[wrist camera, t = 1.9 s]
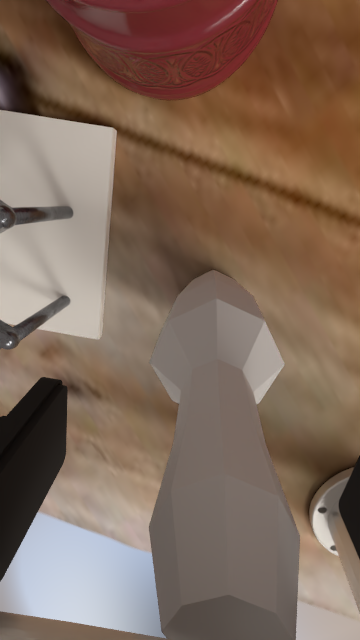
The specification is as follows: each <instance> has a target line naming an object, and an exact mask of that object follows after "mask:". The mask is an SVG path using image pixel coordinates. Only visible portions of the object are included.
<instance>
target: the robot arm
mask: <svg viewBox="0 0 360 640" xmlns="http://www.w3.org/2000/svg"><path fill="white" fill-rule="evenodd" d="M66 428H67V386H64V385H62V381H61V380H58V379H52V378H46V377H42V378H40V379H39V380H38V381H37V383H36V384H35V385H34V386H33V387H32V388H31V389H30V390H29V392H28V393H27V394H26V395H25V396H24V397H23V398H22V399H21V400H20V402H19V403H18V404H17V405H16V406H15V407H14V408H13V409H12V410H11V412H10V413H9V414H8V415H7V416H2V417H0V581H1V580H2V578H3V576H4V575H5V573H6V571H7V569H8V567H9V565H10V563H11V561H12V560H13V558H14V556H15V554H16V552H17V550H18V548H19V546H20V544H21V542H22V541H23V539H24V537H25V535H26V533H27V531H28V529H29V527H30V525H31V523H32V522H33V520H34V518H35V516H36V514H37V512H38V510H39V508H40V506H41V505H42V503H43V501H44V499H45V497H46V495H47V493H48V491H49V489H50V487H51V486H52V484H53V482H54V480H55V478H56V476H57V474H58V472H59V470H60V468H61V467H62V465H63V462H64V459H65V455H66ZM309 518H310V523H311V526H312V529H313V532H314V534H315V536H316V538H317V540H318V541H319V542H320V543H321V544H322V546H323V547H325V548H326V549H327V550H328V551H330V552H331V553H333V554H335V555H337V556H339V558H340V560H341V563H342V566H343V569H344V571H345V574H346V577H347V580H348V582H349V585H350V588H351V590H352V593H353V596H354V599H355V601H356V604H357V607H358V610H359V612H360V456H359V458H358V461H357V463H356V465H355V467H352V468H350V469H347V470H345V471H342V472H340V473H338V474H337V475H335V476H333V477H332V478H330V479H329V480H328V481H327V482H325V483H324V484H323V485H322V486H321V487H320V488H319V490H318V491H317V492H316V493H315V495H314V497H313V499H312V501H311V504H310V509H309ZM0 640H171V639H165V638H160V637H154V636H148V635H142V634H136V633H131V632H125V631H119V630H113V629H107V628H102V627H96V626H89V625H84V624H78V623H72V622H66V621H60V620H53V619H46V618H40V617H33V616H27V615H20V614H13V613H7V612H0Z"/></svg>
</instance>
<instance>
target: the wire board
mask: <svg viewBox="0 0 360 640" xmlns="http://www.w3.org/2000/svg"><path fill="white" fill-rule="evenodd" d="M116 137H117V130H115V129H114V128H111V127H105V126H99V125H92V124H86V123H80V122H73V121H67V120H61V119H55V118H48V117H42V116H36V115H29V114H23V113H17V112H11V111H4V110H0V200H1V201H3V202H4V203H6V204H7V205H9V206H10V207H12V208H16V207H51V206H69V207H71V208H72V210H73V216H72V218H70V219H62V220H53V221H45V222H37V223H28V224H20V225H15V226H13V227H12V228H10V229H7V230H6V231H4V232H2V233H0V320H2V321H3V322H5V323H7V324H12V325H17V324H19V323H21V322H22V321H24V320H25V319H27V318H28V317H30V316H32V315H33V314H35V313H36V312H38V311H39V310H41V309H42V308H44V307H46V306H47V305H49V304H50V303H52V302H53V301H55V300H57V299H58V298H60V297H61V296H64V295H65V296H68V297H69V298H70V304H69V305H68V306H67V307H65V308H64V309H63V310H61V311H60V312H59V313H57V314H56V315H54V316H53V317H52V318H50V319H49V320H48V321H46V322H45V323H44V324H42V325H41V326H39V327H38V328H37V329H41V330H46V331H52V332H58V333H63V334H69V335H75V336H80V337H86V338H92V339H97V340H99V338H100V337H101V336H102V330H103V316H104V302H105V288H106V274H107V261H108V247H109V233H110V219H111V206H112V192H113V178H114V164H115V150H116Z"/></svg>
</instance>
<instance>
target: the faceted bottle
mask: <svg viewBox="0 0 360 640" xmlns="http://www.w3.org/2000/svg"><path fill="white" fill-rule="evenodd" d="M149 363H150V364H151V366H152V368H153V369H154V371H155V373H156V374H157V376H158V378H159V379H160V381H161V383H162V384H163V386H164V388H165V389H166V391H167V393H168V394H169V396H170V398H171V399H172V401H174V402H176V403H178V404H179V408H178V414H177V421H176V428H175V435H174V441H173V445H172V449H171V452H170V456H169V459H168V463H167V466H166V470H165V473H164V476H163V480H162V483H161V487H160V490H159V494H158V497H157V501H156V504H155V508H154V511H153V515H152V518H151V521H150V525H149V532H150V540H151V548H152V556H153V564H154V573H155V581H156V589H157V597H158V605H159V614H160V622H161V630H162V633H163V634H164V635H165V636H166V638H167V639H171V640H296V617H297V594H298V570H299V546H300V535H299V532H298V530H297V527H296V524H295V522H294V519H293V516H292V514H291V511H290V508H289V506H288V503H287V500H286V498H285V495H284V492H283V490H282V487H281V484H280V481H279V479H278V476H277V473H276V471H275V468H274V465H273V463H272V460H271V457H270V455H269V452H268V449H267V447H266V443H265V439H264V434H263V430H262V426H261V422H260V417H259V413H258V409H257V405H256V404H258V403H260V401H261V400H262V398H263V397H264V395H265V394H266V392H267V390H268V389H269V387H270V386H271V384H272V383H273V381H274V380H275V378H276V377H277V375H278V374H279V372H280V371H281V369H282V368H283V366H284V365H285V364H284V361H283V359H282V357H281V355H280V353H279V351H278V348H277V346H276V344H275V342H274V340H273V338H272V335H271V333H270V331H269V329H268V327H267V324H266V322H265V320H264V318H263V316H262V314H261V312H260V310H259V307H258V305H257V303H256V301H255V299H254V297H253V296H252V295H251V294H250V293H249V292H248V291H247V290H246V289H244V288H243V287H242V286H241V285H240V284H239V283H238V282H237V281H235V280H234V279H232V278H230V277H228V276H226V275H224V274H222V273H220V272H218V271H216V270H211V271H209V272H207V273H205V274H203V275H201V276H199V277H197V278H195V279H193V280H192V281H191V282H190V283H189V284H188V285H187V286H186V287H185V288H184V290H183V291H182V292H181V293H180V294H179V295H178V296H177V298H176V300H175V302H174V304H173V306H172V308H171V311H170V313H169V315H168V317H167V319H166V321H165V323H164V325H163V328H162V330H161V332H160V335H159V337H158V340H157V343H156V345H155V348H154V351H153V354H152V356H151V359H150V362H149Z"/></svg>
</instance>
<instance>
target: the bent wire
mask: <svg viewBox="0 0 360 640" xmlns="http://www.w3.org/2000/svg"><path fill="white" fill-rule="evenodd" d="M72 216H73V210H72V208H71V207H69V206H51V207H16V208H12V207H10V206H9V205H7V204H6V203H4V202H3V201H1V200H0V233H2V232H4V231H6V230H7V229H10V228H12V227H13V226H15V225H20V224H28V223H37V222H45V221H53V220H62V219H70V218H72ZM69 304H70V298H69V297H68V296H65V295H64V296H61V297H60V298H58V299H57V300H55V301H53V302H52V303H50V304H49V305H47V306H46V307H44V308H42V309H41V310H39V311H38V312H36V313H35V314H33V315H32V316H30V317H28V318H27V319H25V320H24V321H22V322H21V323H19V324H17V325H16V326H14V327H11V326H10V325H8V324H7V323H5V322H3V321H2V320H0V349H1V348H3V349H7V350H9V349H13V348H15V347H16V346H17V345H18V344H19V342H20V340H22V339H23V338H24V337H26V336H27V335H29V334H30V333H31V332H33V331H34V330H35V329H37V328H38V327H39V326H41V325H42V324H44V323H45V322H46V321H48V320H49V319H50V318H52V317H53V316H54V315H56V314H57V313H59V312H60V311H61V310H63V309H64V308H65V307H67V306H68V305H69Z"/></svg>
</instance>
